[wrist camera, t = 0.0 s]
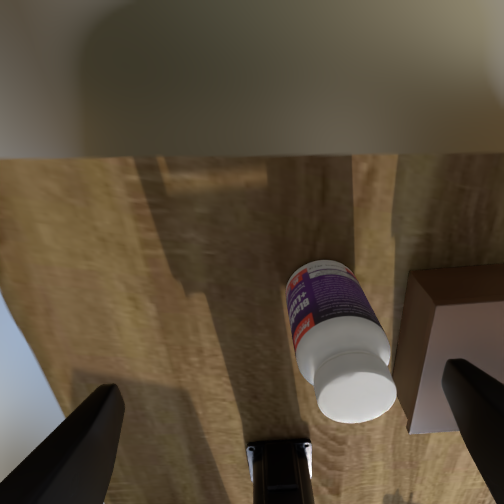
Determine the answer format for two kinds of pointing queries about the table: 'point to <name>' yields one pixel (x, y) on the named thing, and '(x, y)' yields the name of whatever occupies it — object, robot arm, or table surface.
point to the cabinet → (447, 337)
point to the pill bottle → (339, 342)
